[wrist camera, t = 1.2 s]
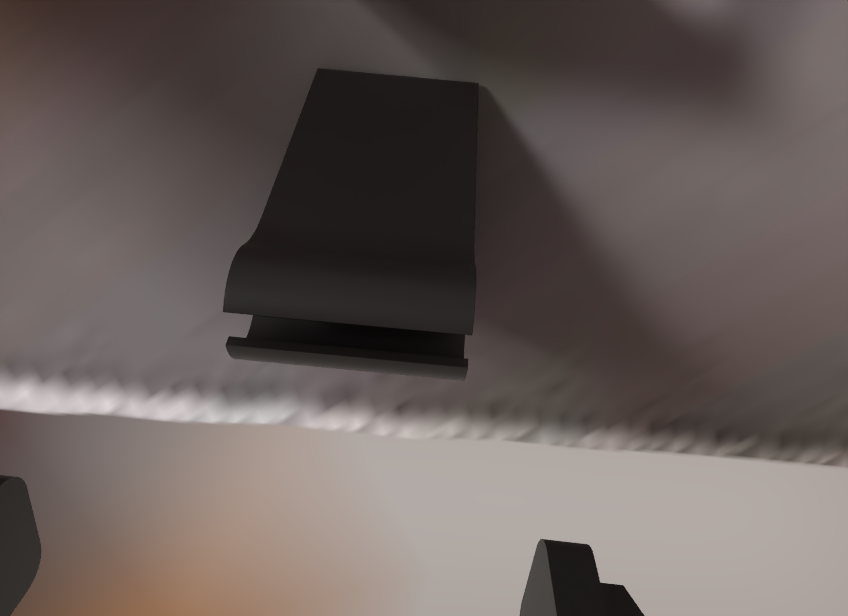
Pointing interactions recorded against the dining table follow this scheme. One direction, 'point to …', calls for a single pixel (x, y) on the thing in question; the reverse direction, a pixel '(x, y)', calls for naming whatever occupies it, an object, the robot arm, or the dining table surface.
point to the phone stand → (367, 232)
